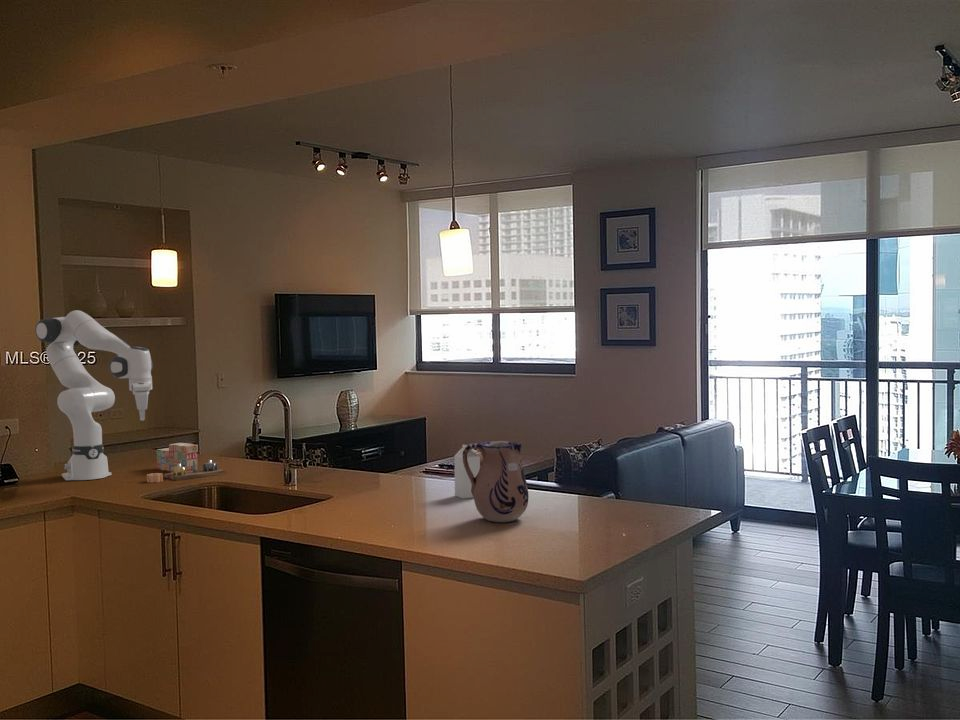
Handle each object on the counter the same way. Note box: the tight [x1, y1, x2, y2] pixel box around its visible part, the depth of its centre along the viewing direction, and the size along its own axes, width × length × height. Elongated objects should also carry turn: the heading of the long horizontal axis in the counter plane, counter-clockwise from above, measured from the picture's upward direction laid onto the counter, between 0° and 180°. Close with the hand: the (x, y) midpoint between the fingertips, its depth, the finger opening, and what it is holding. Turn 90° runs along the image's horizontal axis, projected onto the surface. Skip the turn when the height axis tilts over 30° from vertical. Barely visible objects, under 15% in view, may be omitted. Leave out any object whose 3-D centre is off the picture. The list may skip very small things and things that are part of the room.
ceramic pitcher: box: [463, 440, 530, 523], centre depth 273 cm, size 18×21×25 cm
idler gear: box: [146, 472, 164, 484], centre depth 352 cm, size 6×6×3 cm
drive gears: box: [171, 459, 219, 475], centre depth 365 cm, size 6×20×4 cm, turn 134°
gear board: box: [163, 460, 226, 481], centre depth 365 cm, size 12×22×6 cm, turn 134°
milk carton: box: [453, 444, 481, 500], centre depth 313 cm, size 7×7×19 cm
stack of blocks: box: [155, 442, 199, 472], centre depth 380 cm, size 21×6×12 cm, turn 56°
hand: (142, 419), depth 347 cm, fingers open, 8 cm apart
